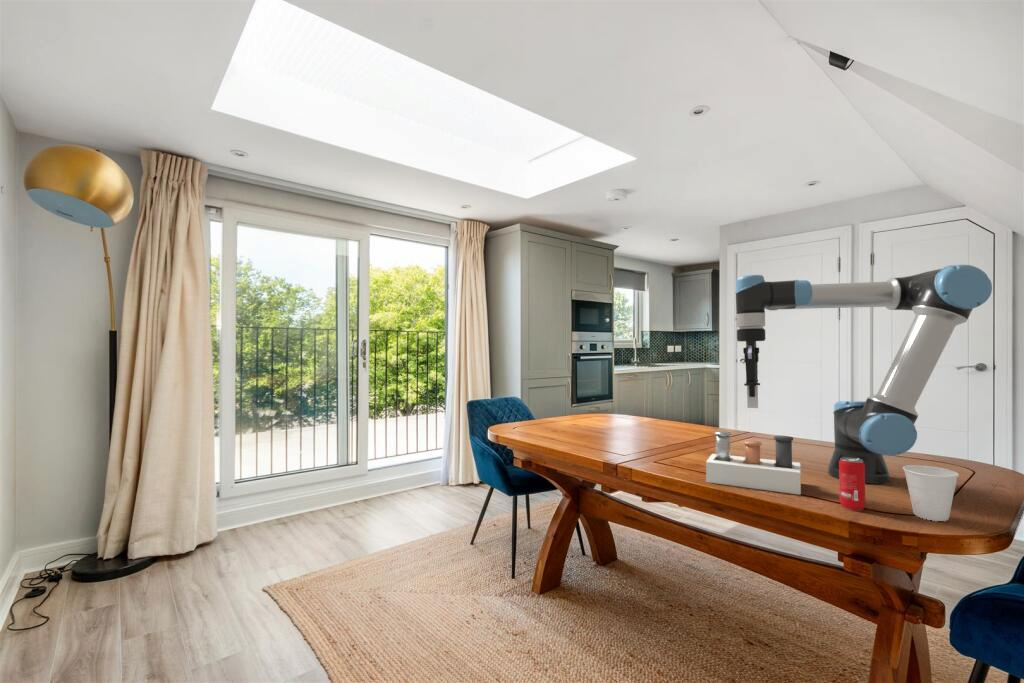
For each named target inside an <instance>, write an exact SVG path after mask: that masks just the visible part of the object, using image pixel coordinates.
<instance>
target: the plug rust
mask: <svg viewBox="0 0 1024 683" xmlns="http://www.w3.org/2000/svg"><path fill="white" fill-rule="evenodd" d="M742 443H743V445H744V457H745V464H754V465H760V459H761V446H762V441H759V440H751V439H750V440H748V439H747V440H742Z"/></svg>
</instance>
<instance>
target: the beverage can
mask: <svg viewBox="0 0 1024 683" xmlns="http://www.w3.org/2000/svg"><path fill="white" fill-rule="evenodd" d="M838 480H839V482H838V483H839V486H838V487H839V502H840V505H841V508H844V509H846V510H850V511H857V512H859V511H864V508H865V506H866V483H865V464H864V463H863V460H861V459H857V458H850V457H842V458H840V461H839V478H838Z"/></svg>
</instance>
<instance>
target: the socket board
mask: <svg viewBox="0 0 1024 683" xmlns="http://www.w3.org/2000/svg"><path fill="white" fill-rule="evenodd" d="M730 460H731V462H727V461H718V460H716V453H711V454H710V456H709V457H708V458H707V460H706V461H705V482H706V483H711V484H718V485H725V486H732V487H741V488H747V489H748V488H749V489H753V490H762V491H763V490H764V491H768V492H769V491H770V492H778V493H783V494H785V493H786V494H791V495H792V494H793V495H798V496H799V495H801V494H802V491H801V490H802V488H801V487H802V486H801V485H802V483H801V482H802V481H801V462H798V461H797V462H795V461H792V469H790V468H781V467H776V459H767V458H760V465H754V464H745V456H739V455H731V454H730Z"/></svg>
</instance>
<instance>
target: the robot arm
mask: <svg viewBox="0 0 1024 683" xmlns="http://www.w3.org/2000/svg"><path fill="white" fill-rule="evenodd" d="M735 281H736V282H735V303H736V304H735V306H736V308H735V310H736V311H735V312H736V317H734V321H736V327H737V330H736V340H737V342H745V347H743V354H744V362H745V378H746V379H745V380H746V381H745V383H744V384H743V386H744V387H745V386H746V398H747V399H746V402H747V403H746V404H747V408H749V409H759V389H758V388H759V386H761V382H759V379H758V374H759V373H758V372H759V370H758V362H759V360H760V359H759V358H760V357H759V353H760V347H757V342H764V341H766V329H765V328H764V327H765V326H766V312H765V311H766V310H768V311H778V310H796V309H797V310H799V309H800V310H801V309H802V310H803V309H838V308H839V309H840V308H844V309H845V308H882V307H884V308H886V309H887V310H890V311H912V312H913V313H914V315H915V316H914V318H913V320H912V322H911V324H910V327H909V329H908V330H907V333H906V334H905V335H904V336H905V337H904V338H903V340H902V343H901V344H900V347H899V349H898V350H897V353H896V354H895V357H894V358H893V360H892V363H891V365H890V367H889V369H888V370H887V372H886V374H885V377H884V379H883V381H882V383H881V385H880V387H879V389H878V391H877V393H876V394H874V395H871V396H867V398H866V400H865V401H858V400H857V401H854V400H853V401H851V400H850V401H849V400H848V401H845V400H843V401H841V400H840V401H836V402H835V403H834V406H833V408H834V409H833V411H832V414H833V426H834V427H833V429H834V432H833V434H834V450H833V453H832V455H831V458H830V460H829V463H828V466H827V467H828V468H827V469H828V470H827V471H828V475H829V476H832V477H834V478H836V479H839V461H840V458H842V457H850V458H857V459H861V460H863V463H864V464H865V484H886V483H889V482H891V474H890V471H889V467H888V465H887V463H886V461H885V458H884V456H888V457H889V456H893V457H894V456H899V455H902V454H904V453H906V452H909V451H910V450H911V448H913V446H915V444H916V442H917V439H918V431H917V429H916V428H917V427H916V425H915V423H916V421H917V420H918V417H919V414H918V412H917V410H916V405H917V403H918V401H919V399H920V397H921V396H922V393H923V391H924V389H925V387H926V385H927V384H928V381H929V379H930V378H931V375H932V373H933V372H934V369H935V368H936V366H937V363H938V362H939V359H940V357H941V356H942V353H943V352H944V349H945V348H946V346H947V344H948V342H949V340H950V338H951V335H952V334H953V332H954V330H955V328H956V326H959V325H961V324H964V323H966V322H967V321H968V319H969V317H970V316H971V314H972V311H973V310H974V309H975V308H978V307H980V306H981V305H984V304H985V303H987V301H988V300H989V298H990V297H991V295H992V291H993V284H992V281H991V279H990V278H989V276H988V274H987V273H986V272H985V271H983V270H982V269H980V268H979V267H977V266H974V265H970V264H952V265H947V266H944V267H942V268H939V269H934V270H929V271H924V272H921V273H918V274H914V275H908V276H904V277H903V276H902V277H901V276H900V277H890V278H889V279H887V280H886V281H870V282H869V281H868V282H866V281H865V282H845V283H844V282H842V283H841V282H839V283H817V284H816V283H815V284H814V283H812V284H811V282H810V281H809V280H807V279H803V280H801V279H795V280H780V281H766V280H765V277H764V275H762V274H748V275H742V276H739V277H737V279H736V280H735ZM765 309H766V310H765Z"/></svg>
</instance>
